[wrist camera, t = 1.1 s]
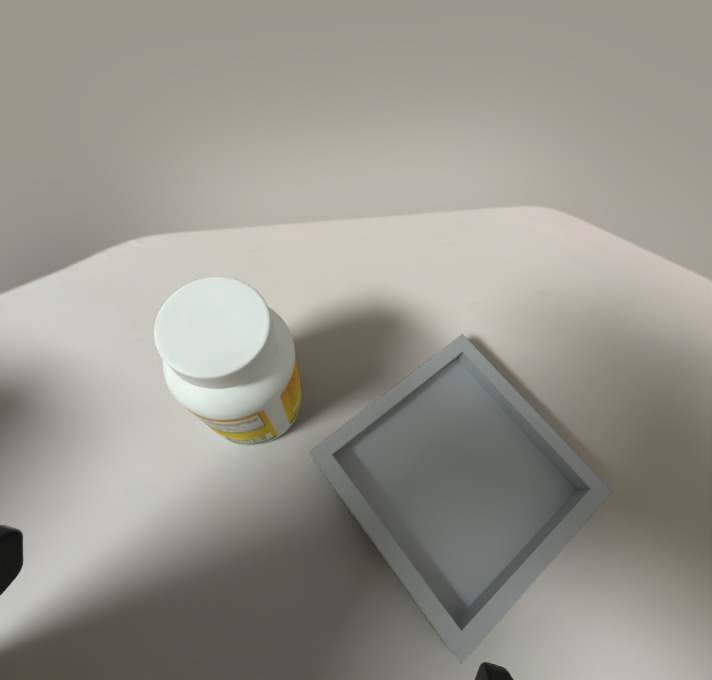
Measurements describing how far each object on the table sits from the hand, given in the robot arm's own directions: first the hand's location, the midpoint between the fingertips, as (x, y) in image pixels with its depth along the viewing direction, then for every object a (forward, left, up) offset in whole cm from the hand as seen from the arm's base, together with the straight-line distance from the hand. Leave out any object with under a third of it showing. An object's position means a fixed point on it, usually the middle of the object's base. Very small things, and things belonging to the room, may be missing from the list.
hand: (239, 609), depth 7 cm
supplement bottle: (+3, +8, -13) cm, 16 cm away
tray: (+9, -2, -13) cm, 16 cm away
